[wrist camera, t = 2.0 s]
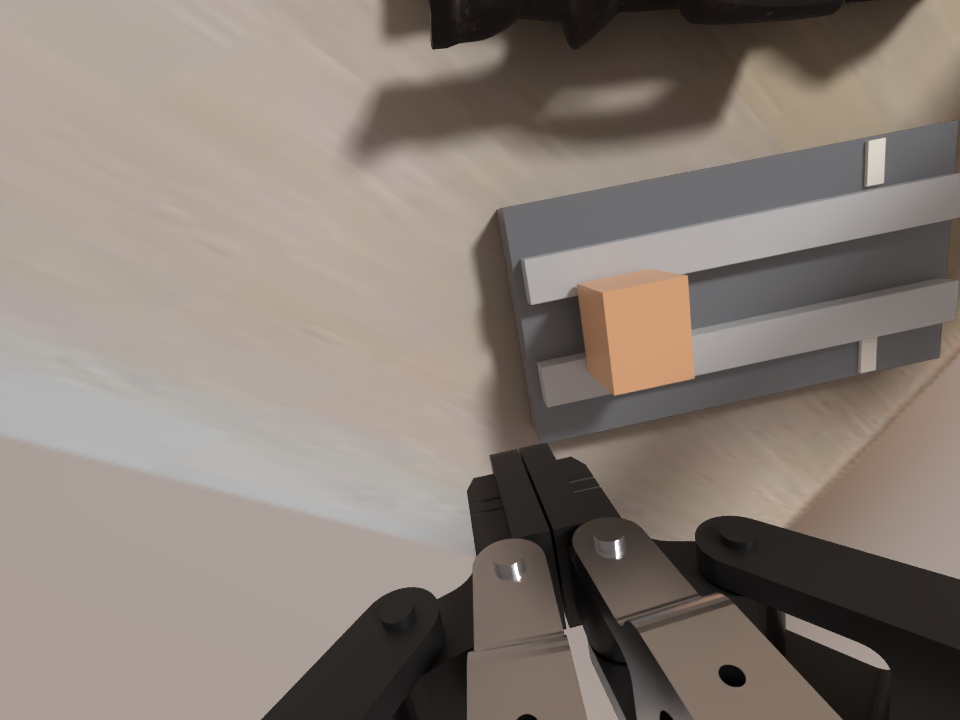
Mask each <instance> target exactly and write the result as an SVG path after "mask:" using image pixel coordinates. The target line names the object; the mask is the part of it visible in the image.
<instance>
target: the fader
mask: <svg viewBox="0 0 960 720" xmlns="http://www.w3.org/2000/svg"><path fill="white" fill-rule="evenodd" d="M577 291H578V299H579V307H580V314H581V322H582V330H583V337H584V345H585V352H586V360H587V368H588V372H589V373H590V374H591V375H592V376H593V377H594V378H595V379H596V380H597V381H599V382H600V383H601V384H602V385H603V386H604V387H605V388H606V389H608V390H609V391H610V392H611V393H612V394H613V395H614V396H615V395H620V394H625V393H629V392H634V391H639V390H643V389H648V388H653V387H657V386H662V385H667V384H671V383H676V382H681V381H685V380H690V379H695V376H694V361H693V346H692V331H691V316H690V301H689V286H688V275H682V274H676V273H671V272H665V271H659V270H653V269H646V270H641V271H636V272H631V273H626V274H621V275H616V276H611V277H606V278H601V279H596V280H591V281H587V282H582V283H577Z"/></svg>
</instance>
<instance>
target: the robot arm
mask: <svg viewBox="0 0 960 720" xmlns="http://www.w3.org/2000/svg"><path fill="white" fill-rule="evenodd" d="M490 461H491V466H492V471H493V474H491V475H486V476H482V477H477V478H473V480H472V482H471V484H470V486H469V488H468V490H467V495H468V502H469V509H470V515H471V523H472V529H473V536H474V543H475V550H476V559H475V561H474V564H473V573H472V574H471V576H470V577H469V578H468V580H467V581H466V582H465V583H464V584H462V585H461V586H460V587H458V588H457V589H456V590H454V591H452V592H450V593H448V594H446V595H444V596H443V597H441V598H439V599H436V598H435V596H434V595H433V594H432V593H430V592H429V591H427V590H425V589H422V588H416V587H408V588H402V589H398V590H395V591H392V592H390V593H388V594H386V595H384V596H382V597H381V598H380V599H378V600H377V601H375V602H374V603H373V604H372V605H371V606H370V607H369V608H368V609H367V610H366V611H365V612H364V613H363V614H362V615H361V616H360V617H359V618H358V620H357V621H355V623H354V624H353V625H352V626H351V627H350V628H349V629H348V630H347V631H346V632H345V633H344V634H343V635H342V636H341V637H340V638H339V639H338V640H337V641H336V642H335V643H334V644H333V645H332V647H331V648H330V649H329V650H328V651H327V652H326V653H325V654H324V655H323V656H322V657H321V658H320V659H319V660H318V661H317V662H316V663H315V664H314V665H313V666H312V668H310V669H309V671H307V673H306V674H305V675H304V676H303V677H302V678H301V679H300V680H299V681H298V682H297V683H296V684H295V685H294V686H293V687H292V688H291V689H290V690H289V691H288V692H287V693H286V695H285V696H284V697H283V698H282V699H281V700H280V701H279V702H278V703H277V704H276V705H275V706H274V707H273V708H272V709H271V710H270V711H269V712H268V713H267V714H266V715H265V716H264V718H262V720H587V716H586V712H585V708H584V704H583V700H582V696H581V692H580V687H579V683H578V680H577V675H576V671H575V667H574V663H573V659H572V655H571V651H570V647H569V643H568V639H567V636H566V635H564V631H563V630H564V629H566V623H565V617H564V613H565V616H566V619H567V622H568V625H569V627H570V628H572V627H576V626H580V625H583V628H584V630H585V633H586V635H587V639H588V646H589V651H590V658H591V661H592V664H593V666H594V668H595V670H596V672H597V675H598V677H599V679H600V681H601V683H602V685H603V687H604V689H605V692H606V694H607V696H608V698H609V700H610V702H611V704H612V706H613V709H614V711H615V713H616V715H617V717H618V719H619V720H960V579H956V578H953V577H949V576H946V575H942V574H939V573H936V572H932V571H929V570H925V569H922V568H918V567H915V566H911V565H908V564H905V563H901V562H898V561H894V560H890V559H887V558H884V557H880V556H877V555H874V554H870V553H866V552H863V551H860V550H856V549H852V548H849V547H846V546H843V545H839V544H835V543H832V542H829V541H825V540H822V539H819V538H815V537H811V536H808V535H805V534H801V533H798V532H795V531H791V530H788V529H784V528H781V527H777V526H774V525H770V524H767V523H764V522H760V521H757V520H753V519H749V518H745V517H739V516H721V517H715V518H711V519H709V520H707V521H705V522H703V523H702V524H701V525H700V526H699V527H698V528H697V530H696V533H695V541H660V540H654V539H651V538H650V537H649V536H648V535H647V534H646V532H645V531H644V530H643V529H642V528H641V527H640V526H638V525H637V524H635V523H633V522H631V521H629V520H626V519H622V518H621V517H620V515H619V514H618V512H617V511H616V509H615V508H614V506H613V505H612V503H611V502H610V500H609V499H608V497H607V496H606V494H605V493H604V492H603V490H602V489H601V487H599V484H598V483H597V481H596V480H595V478H593V475H592V474H591V472H590V471H589V469H588V468H587V466H586V465H585V464H583V463H582V462H580V461H578V460H576V459H574V458H572V457H568V458H563V459H559V460H556V459H555V457H554V455H553V453H552V451H551V450H550V448H549V446H548V444H547V443H542V444H538V445H533V446H528V447H524V448H519V453H518V450H517V449H515V450H511V451H506V452H501V453H497V454H492V455H490ZM563 610H564V611H563ZM785 613H787V614H790V615H792V616H794V617H797V618H799V619H802V620H804V621H807V622H809V623H812V624H814V625H817V626H819V627H822V628H824V629H827V630H829V631H832V632H834V633H837V634H839V635H842V636H844V637H846V638H849V639H852V640H854V641H857V642H859V643H861V644H863V645H865V646H867V647H869V648H871V649H872V650H874V651H875V652H876V653H878V654H879V655H880V656H881V657H882V658H883V659H884V660H885V661H886V663H887V664H888V666H889V668H890V670H884V669H879V668H876V667H874V666H871V665H869V664H867V663H864V662H861V661H859V660H857V659H855V658H852V657H850V656H848V655H845V654H843V653H840V652H838V651H836V650H833V649H831V648H829V647H826V646H824V645H822V644H819V643H817V642H815V641H812V640H810V639H807V638H805V637H803V636H800V635H798V634H796V633H793V632H791V631H788V630H786V627H785V626H786V623H785V622H786V621H785Z"/></svg>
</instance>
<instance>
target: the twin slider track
mask: <svg viewBox="0 0 960 720" xmlns="http://www.w3.org/2000/svg"><path fill="white" fill-rule="evenodd" d="M958 123H959V120H954V121H949V122H944V123H939V124H934V125H928V126H923V127H918V128H913V129H908V130H903V131H897V132H892V133H887V134H882V135H877V136H872V137H866V138H861V139H856V140H851V141H846V142H841V143H835V144H830V145H825V146H820V147H815V148H810V149H804V150H799V151H794V152H789V153H784V154H779V155H773V156H768V157H763V158H758V159H753V160H748V161H742V162H737V163H732V164H727V165H722V166H717V167H712V168H706V169H701V170H696V171H691V172H686V173H681V174H675V175H670V176H665V177H660V178H655V179H650V180H644V181H639V182H634V183H629V184H624V185H619V186H613V187H608V188H603V189H598V190H593V191H588V192H582V193H577V194H572V195H567V196H562V197H557V198H551V199H546V200H541V201H536V202H531V203H526V204H520V205H515V206H510V207H505V208H501V209H498V210H496V211H497V217H498V222H499V228H500V234H501V240H502V246H503V252H504V258H505V264H506V270H507V276H508V281H509V287H510V293H511V299H512V305H513V311H514V317H515V323H516V329H517V335H518V340H519V346H520V352H521V358H522V364H523V370H524V376H525V382H526V388H527V394H528V399H529V405H530V411H531V417H532V423H533V428H534V430H535V432H536V434H537V436H538V438H539V440H540V442H541V444H542V443H550V442H555V441H559V440H564V439H568V438H573V437H578V436H582V435H587V434H591V433H596V432H601V431H605V430H610V429H614V428H619V427H623V426H628V425H633V424H637V423H642V422H646V421H651V420H656V419H660V418H665V417H669V416H674V415H679V414H683V413H688V412H692V411H697V410H702V409H706V408H711V407H715V406H720V405H724V404H729V403H734V402H738V401H743V400H747V399H752V398H757V397H761V396H766V395H770V394H775V393H780V392H784V391H789V390H793V389H798V388H803V387H807V386H812V385H816V384H821V383H826V382H830V381H835V380H839V379H844V378H848V377H853V376H858V375H862V374H867V373H871V372H876V371H881V370H885V369H890V368H894V367H899V366H904V365H908V364H913V363H917V362H922V361H927V360H931V359H936V358H939V356H940V344H941V332H942V323H944V322H949V321H953V320H956V311H957V300H958V289H959V280H953V279H946V270H947V258H948V246H949V234H950V221H951V219H956V218H960V173H954V172H955V160H956V148H957V136H958ZM646 269H653V270H659V271H665V272H671V273H676V274H682V275H688V286H689V301H690V316H691V331H692V346H693V361H694V376H695V379H690V380H685V381H681V382H676V383H671V384H667V385H662V386H657V387H653V388H648V389H643V390H639V391H634V392H629V393H625V394H620V395H615V396H614V395H613V394H612V393H611V392H610V391H609V390H608V389H606V388H605V387H604V386H603V385H602V384H601V383H600V382H599V381H597V380H596V379H595V378H594V377H593V376H592V375H591V374H590V373H589V372H588V368H587V360H586V352H585V345H584V337H583V330H582V322H581V314H580V307H579V299H578V291H577V283H582V282H587V281H591V280H596V279H601V278H606V277H611V276H616V275H621V274H626V273H631V272H636V271H641V270H646Z"/></svg>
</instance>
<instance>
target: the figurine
mask: <svg viewBox="0 0 960 720" xmlns="http://www.w3.org/2000/svg"><path fill="white" fill-rule="evenodd" d="M858 1H869V0H429V9H430V27H431V47H432V49H443V48H448V47H451V46H454V45H456V44H459V43H465V42H474V41H480V40H485V39H487V38H490V37H492V36H494V35H496V34H498V33H500V32H501V31H503V30H505V29H506V28H508V27H509V26H510V25H512V24H513V23H515V22H516V21H517V20H519V19H531V20H542V21H552V22H561V24H562V27H563V30H564V33H565V37H566V39H567V42H568V44H569V46H570V48H572V49H573V50H574V49H578V48H580V47H581V46H583V45H584V44H585V43H587V42H588V41H589V40H590V39H591V38H593V37H594V36H595V35H596V34H597V33H598V32H599V31H600V30H601V29H603V28H604V27H605V26H606V25H607V24H608V23H609V22H610V21H611V20H612V19H613V18H614V17H615V16H616V15H617V14H618V13H620V12H638V11H653V10H666V9H679V10H680V12H681V14H682V16H683V17H684V18H685V19H686V21H687V22H690V23H692V24H703V25H721V24H743V23H757V22H771V21H785V20H796V19H804V18H812V17H819V16H825V15H830V14H833V13H834V12H836V11H837V10H838V9H839V8H840V7H841V6H842V5H843V4H844V3H847V2H858Z"/></svg>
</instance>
